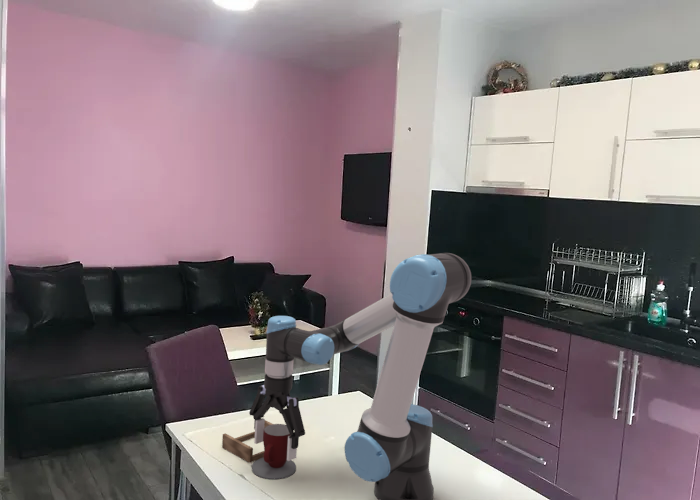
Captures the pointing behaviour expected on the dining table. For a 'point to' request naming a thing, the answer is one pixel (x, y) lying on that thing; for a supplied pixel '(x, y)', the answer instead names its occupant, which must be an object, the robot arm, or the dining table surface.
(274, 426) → the mug
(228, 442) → the wooden tray frame
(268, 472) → the coaster
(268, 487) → the dining table surface
